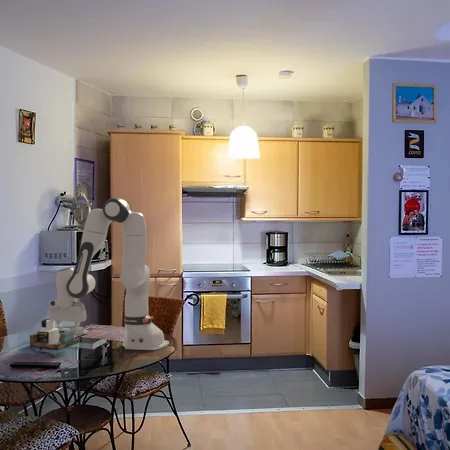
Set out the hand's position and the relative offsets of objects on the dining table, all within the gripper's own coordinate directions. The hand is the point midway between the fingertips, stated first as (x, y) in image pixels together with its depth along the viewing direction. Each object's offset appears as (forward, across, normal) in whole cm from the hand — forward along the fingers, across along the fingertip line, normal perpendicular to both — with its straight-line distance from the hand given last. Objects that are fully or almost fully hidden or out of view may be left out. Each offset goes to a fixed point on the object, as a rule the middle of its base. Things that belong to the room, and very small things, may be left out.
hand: (68, 329), depth 228 cm
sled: (+7, +9, 0) cm, 11 cm away
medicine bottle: (+7, +12, +1) cm, 14 cm away
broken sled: (+7, +16, -16) cm, 24 cm away
